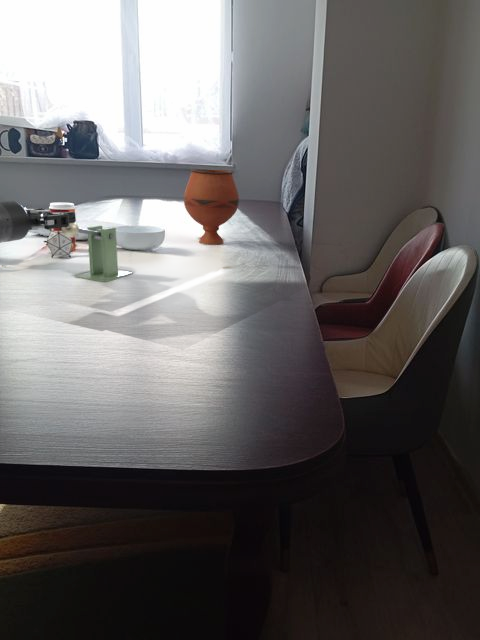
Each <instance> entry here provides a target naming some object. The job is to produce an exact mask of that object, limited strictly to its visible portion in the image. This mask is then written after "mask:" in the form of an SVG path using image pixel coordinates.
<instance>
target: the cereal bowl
mask: <svg viewBox="0 0 480 640" xmlns="http://www.w3.org/2000/svg"><path fill="white" fill-rule="evenodd" d="M115 228H116V243H117V247H120V248H122V249H124V250H129V251H139V252H147V253H149V252H152V250H154V249H157V248H159V247H160V246H161V245H163V243H164V241H165V237H166V230H165V228H164V227H163V228H162V227H160V226H152V225H130V226H117V227H115Z"/></svg>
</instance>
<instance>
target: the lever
mask: <svg viewBox="0 0 480 640" xmlns="http://www.w3.org/2000/svg"><path fill="white" fill-rule="evenodd" d="M62 232H63V234H64V235H65V236H67V237H75V236H76V235H77V234H78V233H82V234H87V235H93V236H94V239H99V240H102V238H101V229H95V231H90V230H85V229H80V228H78V225H77V224H76V223H69V227H62Z"/></svg>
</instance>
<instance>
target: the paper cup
mask: <svg viewBox="0 0 480 640" xmlns="http://www.w3.org/2000/svg"><path fill="white" fill-rule="evenodd" d="M48 209H49V211H51V212H52V213H59V212H62V213H64V212H75V213H76V209H77V207H76V206H75V203H73V202H63V201H62V202H61V201H60V202H59V201H58V202H50V203H49V207H48ZM53 231H62V228H54V229H53ZM71 239H72V241H75V242H73V244H76V243H77V240H76V238H75V237H71ZM76 245H77V244H76ZM76 245H75V246H74V245H73V247H72V250H71V252H75V251H76V247H77V246H76Z"/></svg>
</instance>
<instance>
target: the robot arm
mask: <svg viewBox="0 0 480 640" xmlns="http://www.w3.org/2000/svg"><path fill="white" fill-rule="evenodd" d="M76 217H77V216H76V211H75V212H64V213H62V212H59V213H52V212H51V211H50V209H47V210H46V209H44V208H43V207H36V208H27V207H24V206H23V205H21V203H19V202H18V201H16V200H0V244H1V243H7V242H14V241H15V242H16V241H20V240H22V239H24V238H26V236H27V235H28V233H29V232H28V231H29V230H38V229H39V228H45V229H47V230H49V229H54V228H62V227H69V223H75V222H76V219H77V218H76Z"/></svg>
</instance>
